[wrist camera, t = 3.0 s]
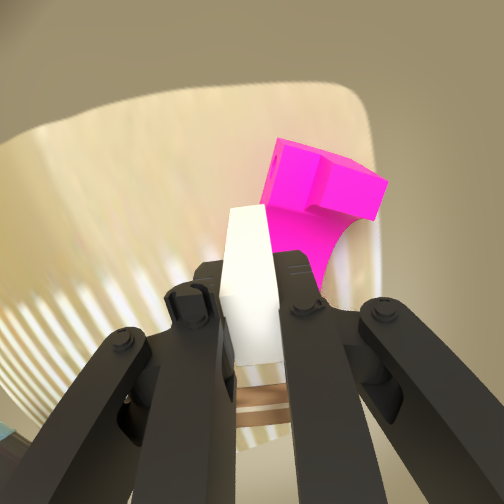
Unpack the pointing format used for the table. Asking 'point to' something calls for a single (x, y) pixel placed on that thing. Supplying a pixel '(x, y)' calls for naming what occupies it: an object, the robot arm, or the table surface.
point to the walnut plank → (262, 405)
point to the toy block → (316, 200)
